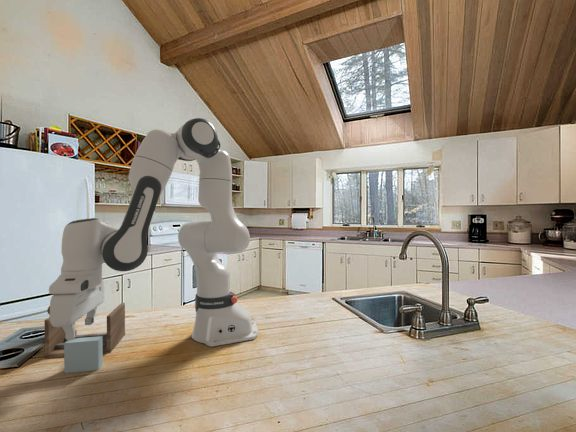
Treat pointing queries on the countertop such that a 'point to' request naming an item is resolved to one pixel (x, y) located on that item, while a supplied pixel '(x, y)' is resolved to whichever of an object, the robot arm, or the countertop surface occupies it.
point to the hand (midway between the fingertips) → (80, 330)
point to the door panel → (83, 354)
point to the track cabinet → (114, 334)
